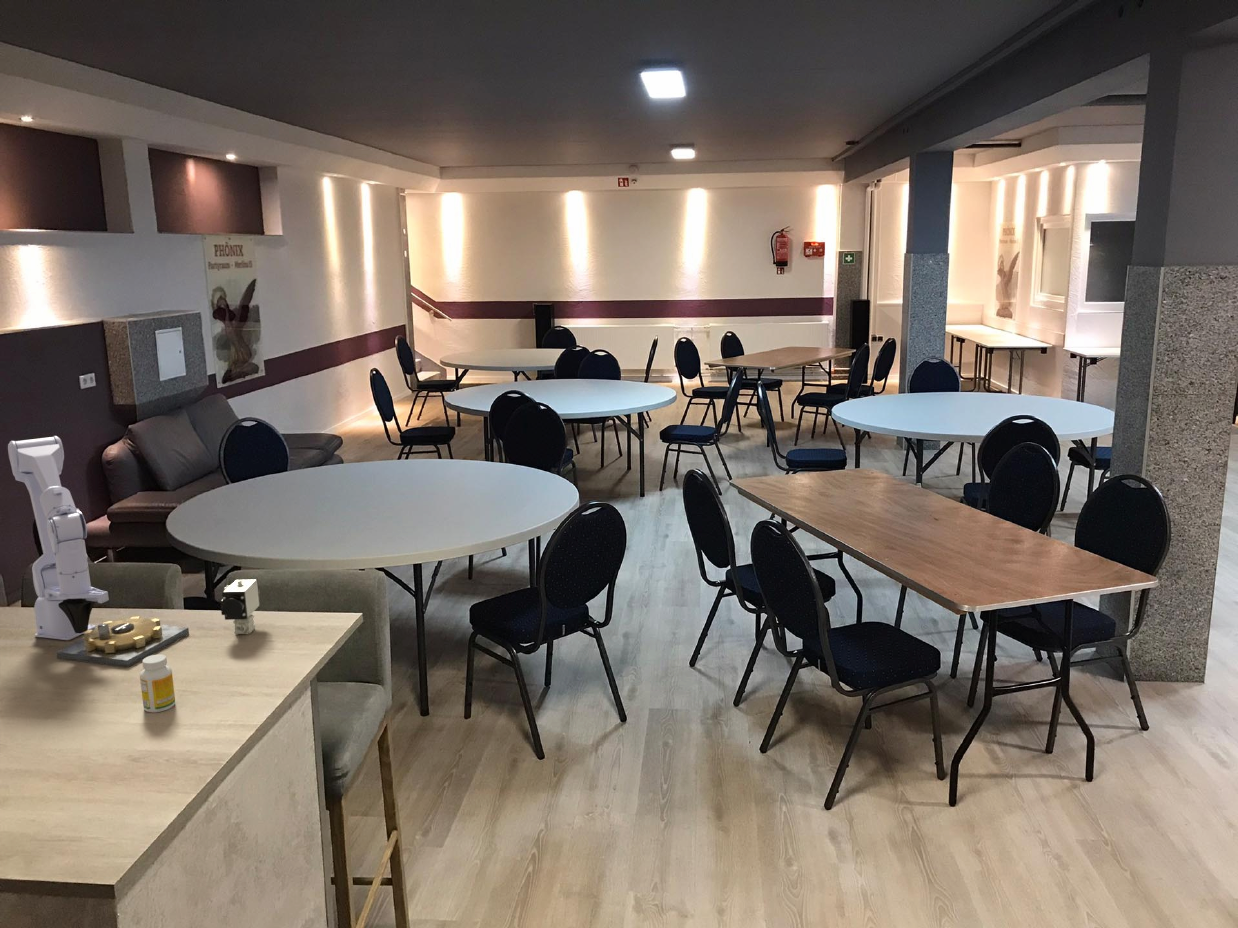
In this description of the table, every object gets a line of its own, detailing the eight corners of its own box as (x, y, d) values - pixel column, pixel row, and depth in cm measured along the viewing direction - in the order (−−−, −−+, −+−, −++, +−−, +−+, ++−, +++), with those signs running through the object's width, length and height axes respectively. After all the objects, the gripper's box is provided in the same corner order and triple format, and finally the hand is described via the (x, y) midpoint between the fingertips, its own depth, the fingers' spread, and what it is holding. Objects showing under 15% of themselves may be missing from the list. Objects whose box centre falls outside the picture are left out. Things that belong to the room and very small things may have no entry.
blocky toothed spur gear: (121, 622, 216) (118, 601, 215) (176, 628, 212) (174, 607, 211) (68, 648, 202) (65, 626, 201) (126, 655, 198) (123, 632, 197)
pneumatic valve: (264, 621, 220) (259, 571, 217) (246, 641, 209) (241, 589, 206) (239, 622, 220) (234, 572, 217) (220, 642, 208) (215, 590, 206)
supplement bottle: (138, 713, 177) (132, 664, 175) (152, 700, 182) (146, 652, 180) (167, 713, 177) (161, 664, 175) (180, 699, 182) (175, 652, 180)
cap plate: (57, 658, 201) (56, 651, 201) (122, 626, 218) (121, 620, 218) (128, 667, 197) (127, 660, 196) (189, 633, 213) (188, 627, 213)
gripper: (28, 573, 198) (38, 635, 201) (86, 579, 195) (94, 641, 198) (56, 563, 205) (65, 623, 208) (112, 568, 201) (120, 629, 204)
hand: (81, 631), depth 203 cm, fingers closed
